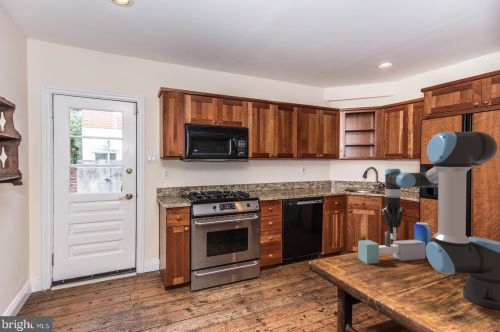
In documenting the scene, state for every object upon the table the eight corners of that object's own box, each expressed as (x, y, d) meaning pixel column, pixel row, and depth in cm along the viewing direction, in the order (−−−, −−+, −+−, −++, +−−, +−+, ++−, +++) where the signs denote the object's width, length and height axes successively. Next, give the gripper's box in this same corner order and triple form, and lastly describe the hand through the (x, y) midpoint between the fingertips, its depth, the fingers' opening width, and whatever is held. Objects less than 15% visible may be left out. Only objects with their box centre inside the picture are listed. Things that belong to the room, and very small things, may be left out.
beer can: (411, 248, 168) (411, 222, 168) (420, 246, 172) (419, 221, 172) (425, 252, 161) (424, 225, 160) (433, 250, 164) (433, 223, 164)
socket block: (378, 262, 145) (378, 244, 144) (366, 263, 143) (366, 244, 143) (369, 257, 152) (369, 240, 152) (358, 258, 151) (358, 240, 151)
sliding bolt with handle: (414, 251, 151) (414, 231, 151) (375, 254, 147) (374, 233, 146) (409, 249, 154) (409, 229, 154) (370, 252, 150) (370, 232, 150)
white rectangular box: (425, 258, 150) (425, 242, 150) (401, 260, 148) (401, 244, 148) (416, 254, 157) (415, 239, 157) (393, 256, 154) (392, 240, 154)
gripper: (398, 195, 155) (399, 236, 155) (377, 196, 153) (378, 237, 153) (408, 196, 148) (408, 240, 148) (386, 197, 145) (387, 241, 146)
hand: (393, 239), depth 150 cm, fingers closed
